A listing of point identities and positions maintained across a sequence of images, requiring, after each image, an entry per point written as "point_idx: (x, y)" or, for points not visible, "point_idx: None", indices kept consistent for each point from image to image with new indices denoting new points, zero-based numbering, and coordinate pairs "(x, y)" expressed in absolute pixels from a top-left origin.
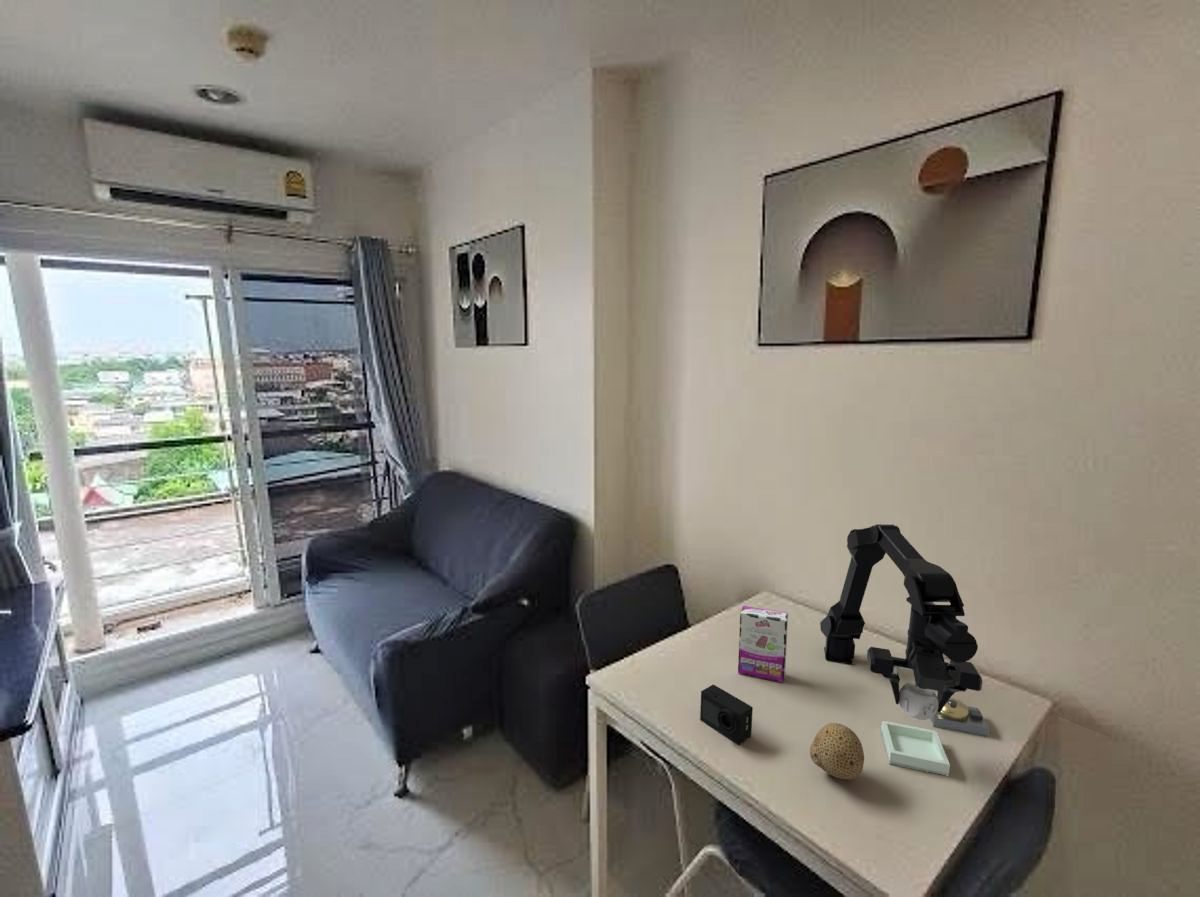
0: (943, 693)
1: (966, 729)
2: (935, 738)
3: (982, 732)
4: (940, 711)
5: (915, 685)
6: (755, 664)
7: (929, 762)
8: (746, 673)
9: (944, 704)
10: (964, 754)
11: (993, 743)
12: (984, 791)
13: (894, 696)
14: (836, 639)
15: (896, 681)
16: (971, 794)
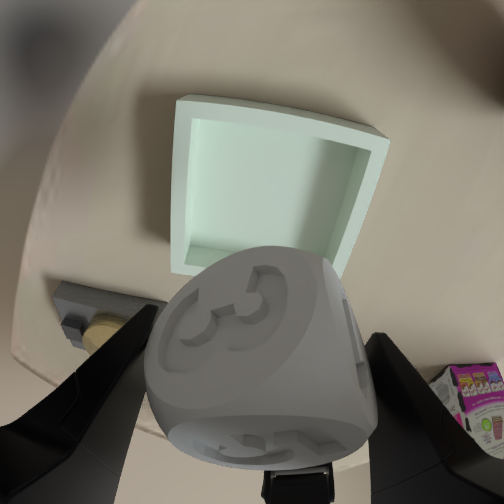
0: (93, 428)
1: (96, 295)
2: (183, 238)
3: (68, 289)
4: (144, 306)
5: (270, 457)
6: (489, 384)
7: (251, 107)
8: (490, 366)
9: (108, 344)
10: (113, 211)
11: (54, 262)
12: (104, 61)
13: (415, 370)
14: None
15: (479, 473)
16: (146, 32)
